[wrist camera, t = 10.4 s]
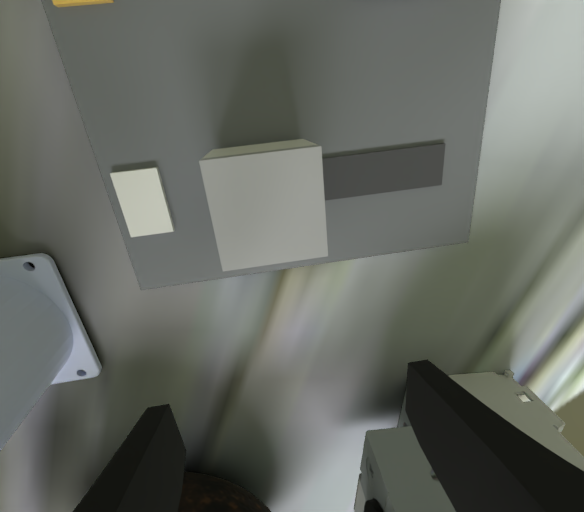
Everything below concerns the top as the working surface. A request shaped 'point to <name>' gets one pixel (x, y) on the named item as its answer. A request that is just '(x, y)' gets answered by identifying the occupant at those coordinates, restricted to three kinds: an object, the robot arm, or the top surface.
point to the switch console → (282, 114)
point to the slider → (266, 203)
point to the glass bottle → (216, 495)
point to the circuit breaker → (414, 465)
